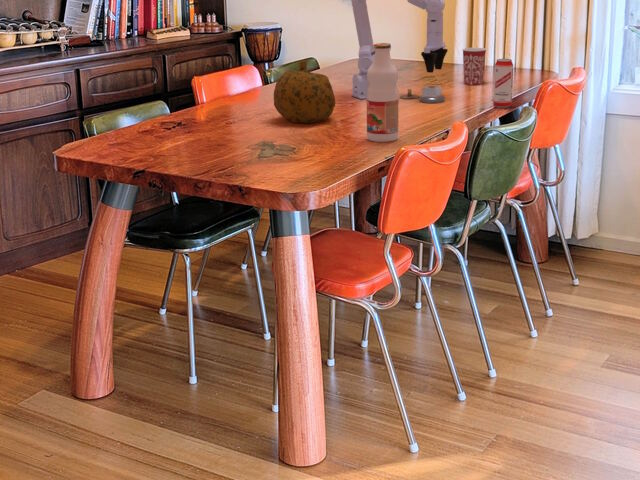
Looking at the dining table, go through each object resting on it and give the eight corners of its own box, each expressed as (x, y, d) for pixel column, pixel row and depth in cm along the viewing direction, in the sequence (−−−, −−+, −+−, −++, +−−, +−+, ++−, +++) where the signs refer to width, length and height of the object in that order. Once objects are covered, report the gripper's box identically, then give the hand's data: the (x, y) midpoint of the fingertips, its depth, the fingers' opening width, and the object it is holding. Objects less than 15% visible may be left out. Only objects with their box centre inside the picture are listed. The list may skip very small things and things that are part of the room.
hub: (426, 104, 323) (426, 91, 321) (415, 100, 331) (415, 87, 329) (449, 101, 326) (449, 89, 324) (437, 97, 334) (437, 85, 332)
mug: (482, 86, 354) (483, 51, 349) (459, 85, 357) (460, 50, 353) (489, 81, 365) (490, 46, 360) (467, 80, 368) (468, 46, 364)
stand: (405, 100, 331) (405, 91, 330) (396, 96, 338) (396, 88, 337) (422, 98, 334) (422, 89, 333) (413, 95, 340) (413, 86, 339)
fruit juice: (401, 141, 270) (401, 45, 261) (369, 143, 269) (368, 46, 260) (395, 134, 279) (395, 41, 270) (364, 136, 278) (363, 42, 269)
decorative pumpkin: (282, 127, 289) (281, 62, 284) (268, 120, 309) (267, 59, 304) (344, 124, 294) (344, 61, 289) (326, 117, 314) (326, 58, 309)
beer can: (511, 108, 312) (513, 61, 306) (492, 108, 313) (494, 61, 308) (511, 105, 317) (513, 58, 312) (493, 104, 319) (495, 58, 313)
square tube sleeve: (435, 98, 325) (436, 88, 323) (422, 97, 327) (422, 87, 326) (441, 96, 329) (441, 86, 328) (427, 95, 331) (427, 85, 330)
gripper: (437, 35, 317) (436, 74, 321) (453, 30, 329) (452, 68, 333) (418, 34, 320) (418, 73, 325) (434, 29, 332) (434, 67, 336)
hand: (434, 70), depth 329 cm, fingers open, 7 cm apart
